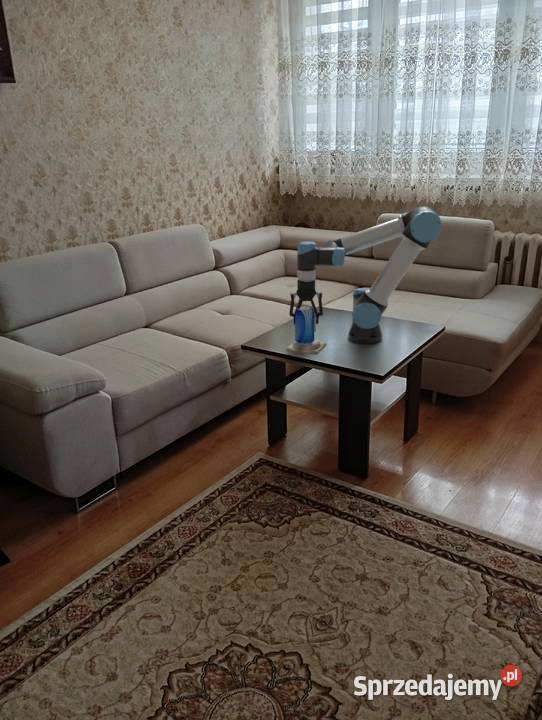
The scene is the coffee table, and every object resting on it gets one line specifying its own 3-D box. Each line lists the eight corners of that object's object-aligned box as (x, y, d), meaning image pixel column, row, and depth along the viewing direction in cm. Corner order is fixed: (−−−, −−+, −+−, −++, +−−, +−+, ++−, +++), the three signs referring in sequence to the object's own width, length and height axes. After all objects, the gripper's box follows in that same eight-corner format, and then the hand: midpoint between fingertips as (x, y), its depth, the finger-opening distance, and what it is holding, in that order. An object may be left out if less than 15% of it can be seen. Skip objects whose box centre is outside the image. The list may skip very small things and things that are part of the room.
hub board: (326, 344, 269) (326, 340, 268) (317, 353, 259) (317, 349, 258) (296, 341, 274) (296, 336, 274) (286, 350, 264) (286, 345, 263)
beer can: (317, 344, 263) (317, 309, 257) (299, 347, 260) (299, 311, 254) (309, 338, 270) (309, 304, 264) (292, 341, 268) (291, 306, 262)
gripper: (328, 276, 260) (327, 327, 268) (282, 277, 259) (282, 329, 267) (331, 280, 253) (329, 333, 261) (283, 282, 252) (283, 334, 260)
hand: (305, 331), depth 264 cm, fingers open, 7 cm apart
